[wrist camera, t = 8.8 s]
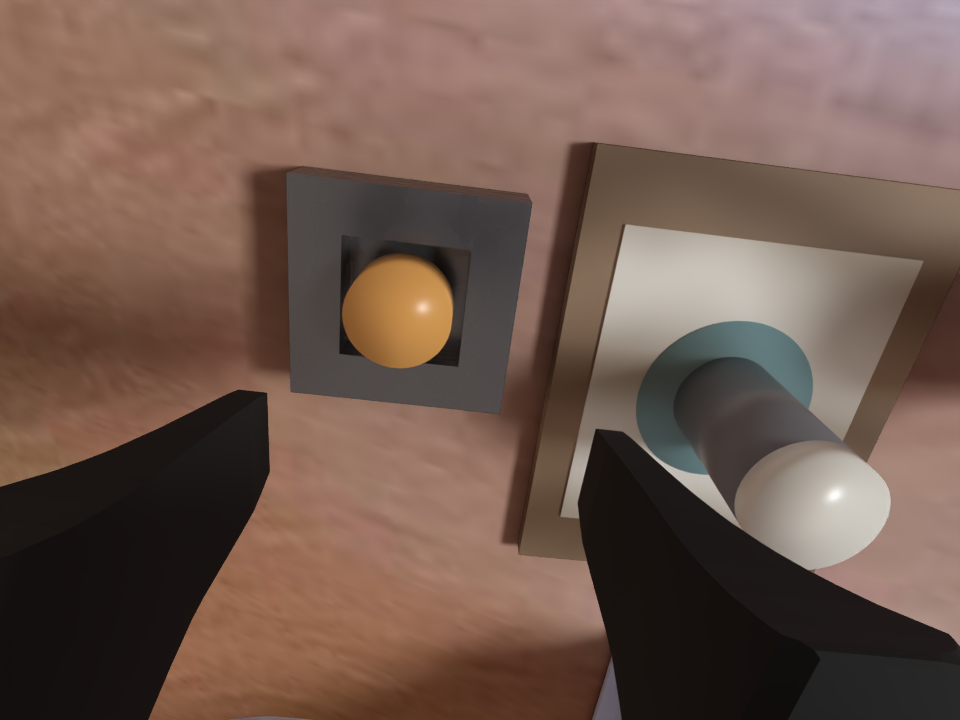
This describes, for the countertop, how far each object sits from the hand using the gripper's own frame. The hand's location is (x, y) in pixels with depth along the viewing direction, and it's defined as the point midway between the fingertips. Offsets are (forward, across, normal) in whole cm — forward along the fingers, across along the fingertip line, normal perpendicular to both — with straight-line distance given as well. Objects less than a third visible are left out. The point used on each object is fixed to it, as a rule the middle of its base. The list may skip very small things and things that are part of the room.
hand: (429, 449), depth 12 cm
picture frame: (+10, -11, +3) cm, 16 cm away
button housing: (+10, +2, 0) cm, 11 cm away
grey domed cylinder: (+10, -11, +3) cm, 15 cm away
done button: (+9, +2, 0) cm, 9 cm away
